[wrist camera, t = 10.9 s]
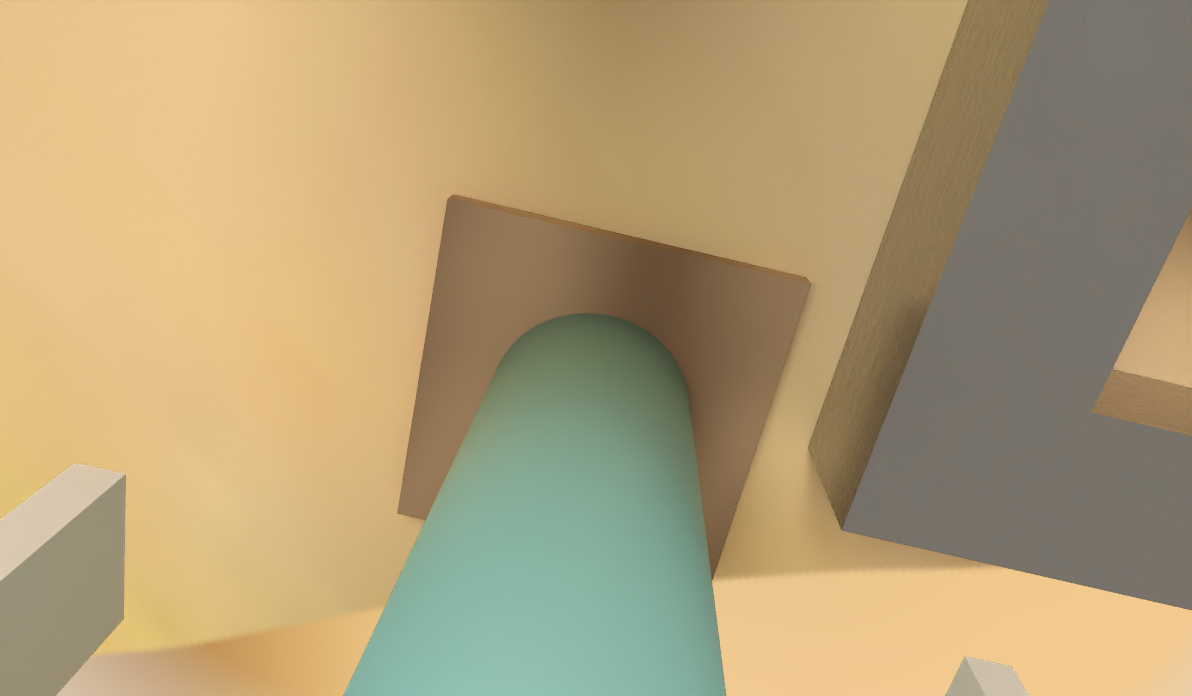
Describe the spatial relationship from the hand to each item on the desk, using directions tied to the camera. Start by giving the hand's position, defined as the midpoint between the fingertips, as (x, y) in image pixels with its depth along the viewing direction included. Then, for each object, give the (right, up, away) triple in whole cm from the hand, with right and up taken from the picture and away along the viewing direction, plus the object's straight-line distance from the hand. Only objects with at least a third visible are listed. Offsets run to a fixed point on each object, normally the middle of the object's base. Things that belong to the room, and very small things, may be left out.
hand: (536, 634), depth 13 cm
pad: (+1, +3, +9) cm, 10 cm away
